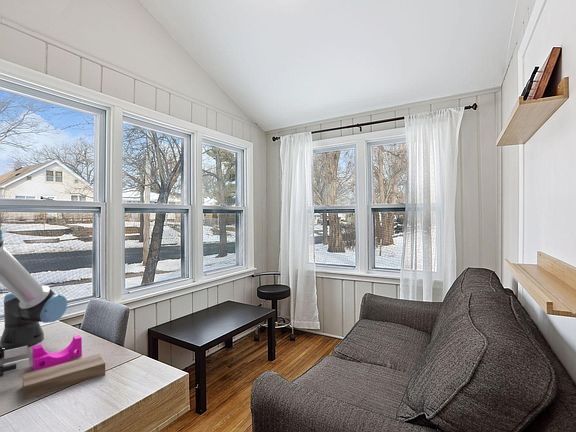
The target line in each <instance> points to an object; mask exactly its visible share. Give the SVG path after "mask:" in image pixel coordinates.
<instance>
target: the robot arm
mask: <svg viewBox="0 0 576 432" xmlns="http://www.w3.org/2000/svg"><path fill="white" fill-rule="evenodd" d="M2 235H3V230H2V228H1V227H0V284H2V286H3V287H5V288H6V289H7V290H8V291H9V292H8V293H7V294H6V295H5V296H4V297H3V310H4V311H3V314H4V318H3V319H4V328H3V332H2V334H1V336H0V347H1V348H5V349H0V360H2V359H4V360H5V359H9V358H14V357H18V356H23V355H27V354H28V353H29V352H28V350H29V349H28V347H30V346H34V345H37V344H39V343H40V342H42V341H43V340H44V339H45V333H44V330H43V328H42V326H41V324H40V323H44V324H46V323H55V322H57V321H59V320H60V319H61V318H62V317H63V316H64V315H65V313H66V311H67V307H68V300H67V298H66V297H65V296H64V295H62V294H59V293H57V294H56V293H55V292H54V290H52V289H51V288H50V287H49V286H48V285H41V283H39V281H38V280H36V278H34V276H33V275H31V273H30V272H29V271H28V270H27V269H26V268H25V267H24V266H23V265H22V264H21V263H20V262H19V261H18V259H16V258H15V257H14V256H13V254H11V253H10V252H9V250H7V248H6V247H4V246H5V243H6V241H5V239H4V238H3V236H2ZM29 367H30V357H27V358H23V359H19V360H15V361H10V362H6V363H3V365H0V378H1V377H3V376H4V374H5V373H9V372H13V371H17V370H21V369H24V368H25V369H26V368H29Z"/></svg>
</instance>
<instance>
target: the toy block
mask: <svg viewBox="0 0 576 432" xmlns="http://www.w3.org/2000/svg"><path fill="white" fill-rule="evenodd" d="M82 344H83V342H82V337H81V335H80V334H78V335H74V336H73V337H72V340H71V342H70V343H69V344H68V346H66V347H65V348H64V349H63V350H60V351H55V352H51V351H50V352H49V351H47V350H45V349H44V347H43V344H41V343H40V344H35V345H31V346H32V347H31V349H32V353H31V354H32V368H33V371H36V370H40V369H44V368H48V367H51V366H55V365H59V364H63V363H67V362H70V360H72V359H74V358H78V357H81V356H83V348H82V347H83V346H82Z"/></svg>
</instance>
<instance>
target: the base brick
mask: <svg viewBox="0 0 576 432" xmlns="http://www.w3.org/2000/svg"><path fill="white" fill-rule="evenodd" d="M105 375H106V362H105V361H104V359H103V357H102V356H101V355H100V353H97V354H94V355H91V356H90V355H89V356H86V357H83V358H79V359H74V360H69V362H66V363H63V364H59V365H55V366H51V367H48V368H44V369H40V370H36V371H35V370H33V371H29V372H25V373H22V390H23V400H26V399H30V398H33V397H36V396H39V395H43V394H45V393H46V394H47V393H49V392H52V391H55V390H59V389H63V388H66V387H68V386H72V385H75V384H79V383H81V382H82V383H83V382H85V381H88V380H91V379H96V378H98V377H102V376H105Z"/></svg>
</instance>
